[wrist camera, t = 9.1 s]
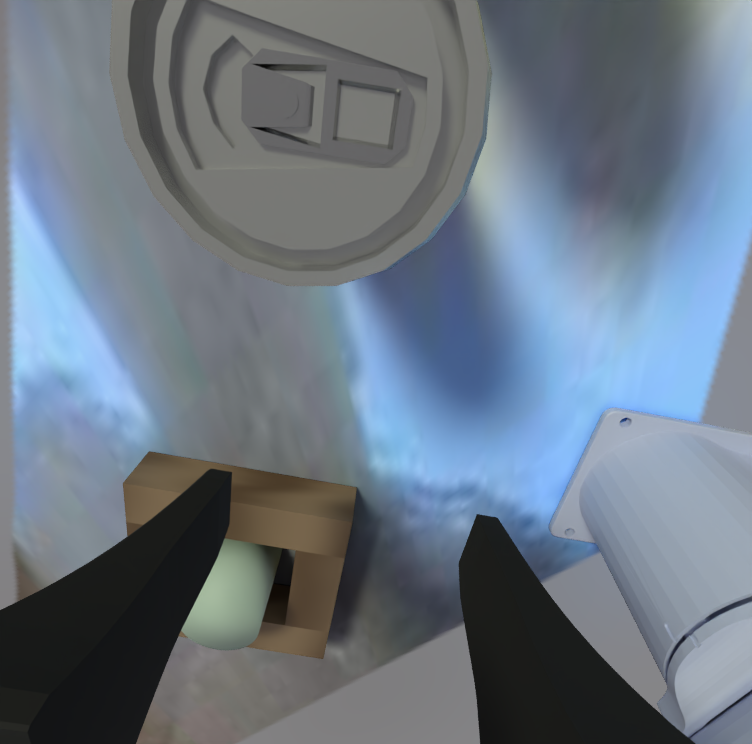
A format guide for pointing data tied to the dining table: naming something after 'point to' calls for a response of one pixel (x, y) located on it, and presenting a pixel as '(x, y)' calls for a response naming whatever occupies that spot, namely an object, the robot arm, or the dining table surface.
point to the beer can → (303, 125)
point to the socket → (267, 538)
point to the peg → (234, 596)
